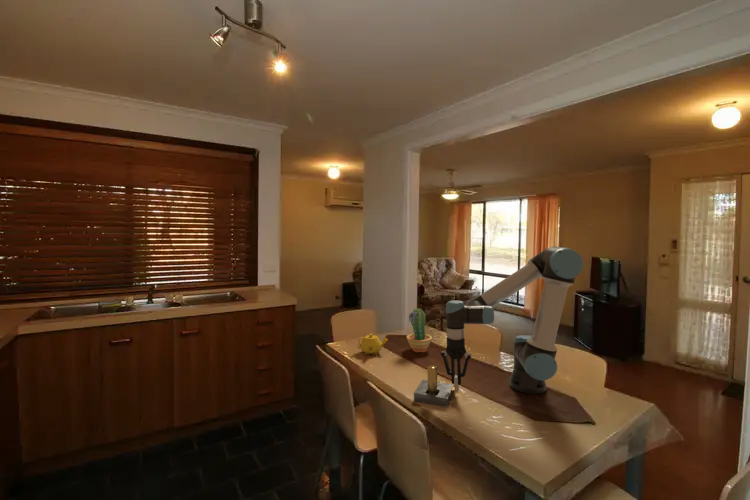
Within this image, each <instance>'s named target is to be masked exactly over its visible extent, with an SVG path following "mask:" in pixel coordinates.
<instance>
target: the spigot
mask: <svg viewBox="0 0 750 500" xmlns="http://www.w3.org/2000/svg"><path fill="white" fill-rule="evenodd" d="M426 369H427V380H428V394H432V395H437V382H438V367H437V366H436V365H431V364H430V365H428V366H427V368H426Z"/></svg>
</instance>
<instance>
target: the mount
mask: <svg viewBox="0 0 750 500" xmlns="http://www.w3.org/2000/svg"><path fill="white" fill-rule="evenodd" d="M453 387H454V384H452V383H446V382H439V381H437V395H432V394H428V379H422V380H421V381H420V383H419V385H418V386H417V388H416V389H415V391H414V392H413V402H418V403H422V404H428V405H433V406H439V407H444V408H448V407H449V404H450V402H451V400H452V398H453V397H452V388H453Z"/></svg>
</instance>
